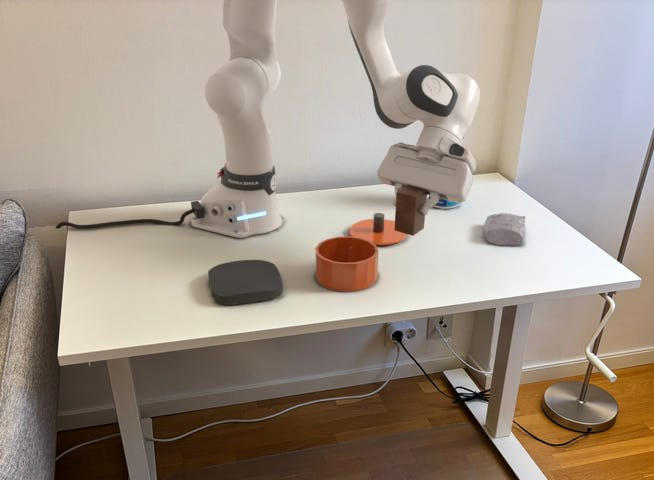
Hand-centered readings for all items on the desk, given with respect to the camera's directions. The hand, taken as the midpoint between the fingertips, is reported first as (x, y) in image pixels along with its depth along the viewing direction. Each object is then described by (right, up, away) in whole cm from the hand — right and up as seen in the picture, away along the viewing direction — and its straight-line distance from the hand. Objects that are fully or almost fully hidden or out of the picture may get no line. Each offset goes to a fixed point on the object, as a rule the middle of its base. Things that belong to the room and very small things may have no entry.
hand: (409, 210), depth 148 cm
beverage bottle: (+13, +10, +42) cm, 45 cm away
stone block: (+25, -1, +26) cm, 36 cm away
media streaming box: (-34, -16, +4) cm, 38 cm away
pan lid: (-5, 0, +25) cm, 26 cm away
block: (0, -3, +3) cm, 5 cm away
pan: (-13, -13, +8) cm, 20 cm away
